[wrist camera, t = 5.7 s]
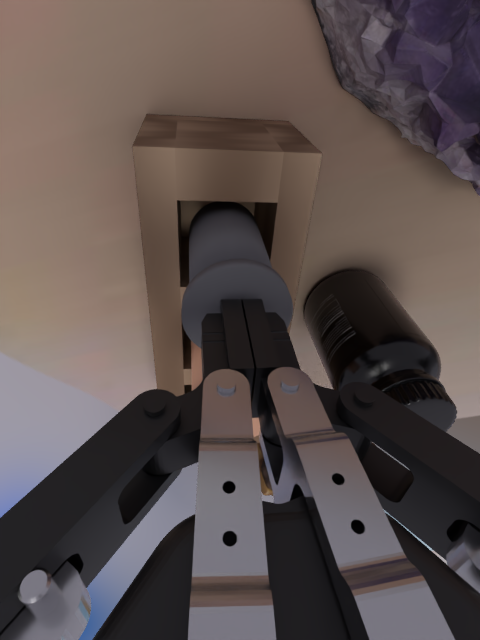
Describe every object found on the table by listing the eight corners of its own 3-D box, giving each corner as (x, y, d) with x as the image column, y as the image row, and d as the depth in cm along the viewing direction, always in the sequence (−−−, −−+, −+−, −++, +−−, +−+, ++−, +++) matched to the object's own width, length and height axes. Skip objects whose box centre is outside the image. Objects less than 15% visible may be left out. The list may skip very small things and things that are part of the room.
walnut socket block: (288, 121, 22) (322, 153, 16) (256, 376, 35) (269, 442, 29) (146, 114, 21) (132, 146, 15) (167, 379, 34) (163, 448, 28)
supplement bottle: (321, 347, 33) (374, 474, 24) (288, 294, 29) (335, 421, 20) (396, 312, 32) (484, 432, 22) (371, 250, 28) (465, 366, 18)
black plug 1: (267, 195, 19) (301, 267, 13) (259, 269, 21) (284, 355, 16) (181, 193, 18) (179, 267, 13) (184, 269, 21) (183, 358, 15)
